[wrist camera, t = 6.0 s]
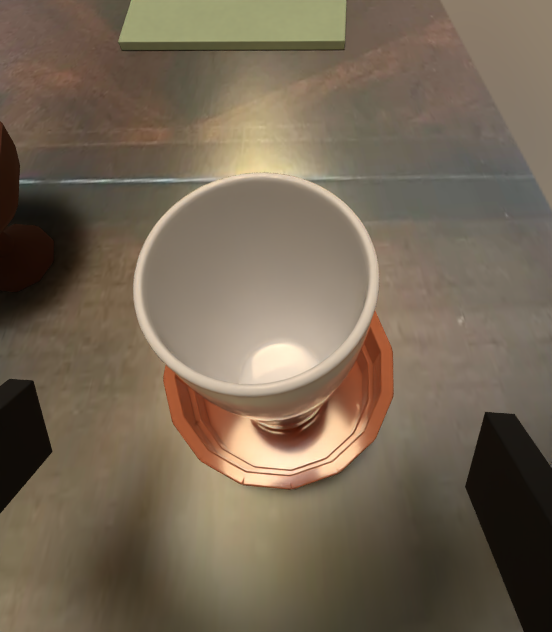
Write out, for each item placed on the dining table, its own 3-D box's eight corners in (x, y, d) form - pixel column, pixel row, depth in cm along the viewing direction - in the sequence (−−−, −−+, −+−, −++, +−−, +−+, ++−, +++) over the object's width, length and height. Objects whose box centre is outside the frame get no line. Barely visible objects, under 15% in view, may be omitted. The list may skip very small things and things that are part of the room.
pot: (375, 307, 27) (391, 267, 22) (375, 493, 23) (395, 499, 18) (206, 298, 28) (184, 258, 23) (178, 475, 24) (144, 476, 19)
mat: (346, -18, 39) (347, -28, 38) (344, 49, 35) (345, 40, 35) (141, -14, 40) (138, -23, 40) (121, 50, 37) (117, 41, 37)
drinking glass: (260, 314, 27) (210, 138, 13) (356, 361, 25) (423, 218, 11) (206, 409, 25) (76, 324, 11) (307, 465, 23) (312, 452, 9)
